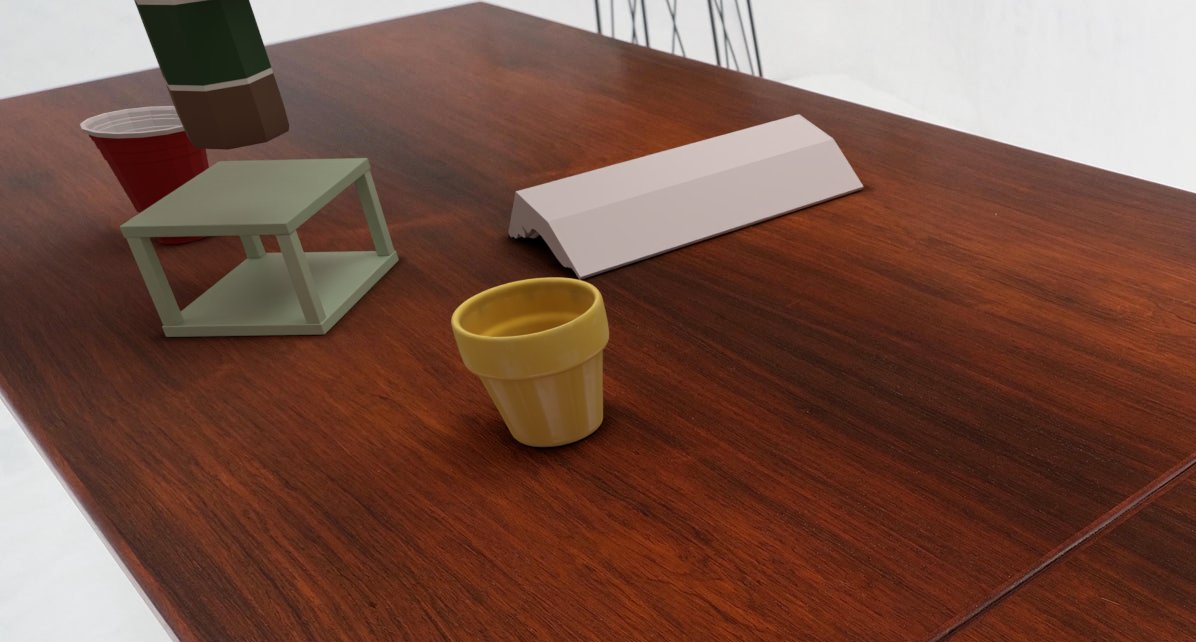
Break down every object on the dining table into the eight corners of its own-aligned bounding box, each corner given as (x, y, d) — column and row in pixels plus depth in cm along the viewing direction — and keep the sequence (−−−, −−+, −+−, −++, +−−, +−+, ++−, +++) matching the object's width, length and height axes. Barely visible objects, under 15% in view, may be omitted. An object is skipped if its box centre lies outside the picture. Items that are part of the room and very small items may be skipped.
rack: (165, 337, 110) (118, 226, 105) (256, 262, 124) (219, 160, 118) (324, 334, 110) (285, 223, 104) (399, 260, 123) (368, 157, 117)
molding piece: (565, 330, 126) (580, 276, 117) (508, 232, 127) (518, 173, 119) (833, 238, 143) (863, 186, 135) (780, 153, 144) (807, 96, 136)
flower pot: (478, 410, 98) (443, 291, 92) (613, 381, 101) (588, 264, 96) (492, 475, 90) (456, 350, 85) (639, 441, 93) (614, 318, 88)
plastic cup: (265, 229, 131) (222, 111, 124) (153, 263, 124) (101, 140, 118) (223, 206, 137) (180, 92, 130) (114, 236, 131) (63, 118, 124)
